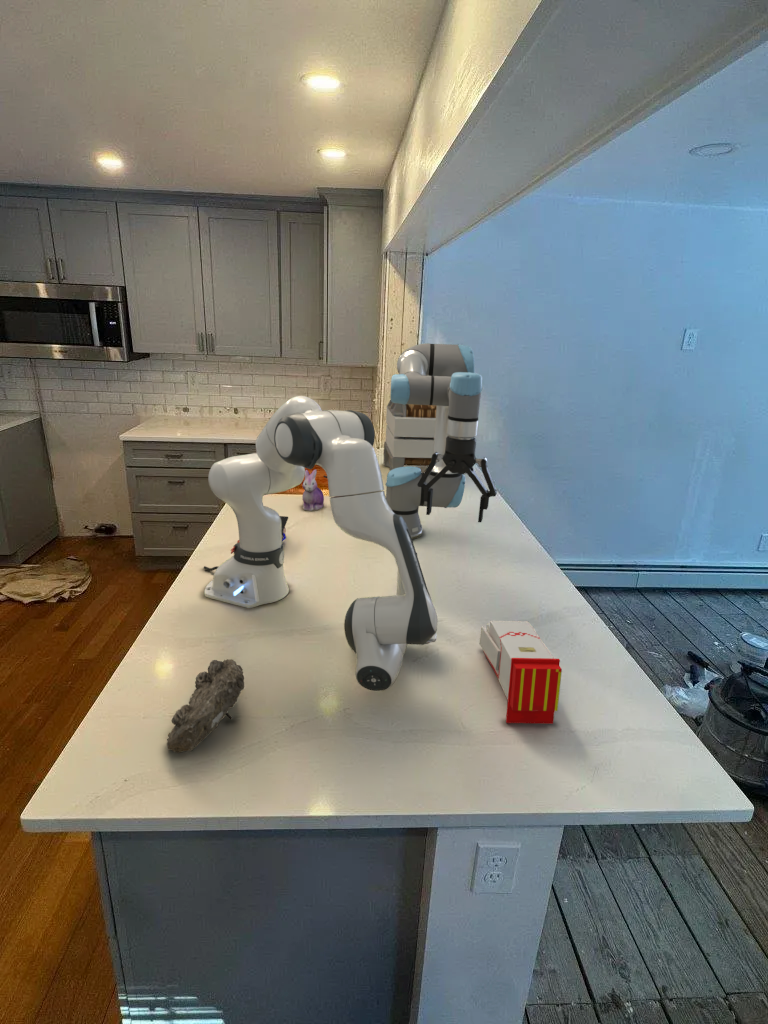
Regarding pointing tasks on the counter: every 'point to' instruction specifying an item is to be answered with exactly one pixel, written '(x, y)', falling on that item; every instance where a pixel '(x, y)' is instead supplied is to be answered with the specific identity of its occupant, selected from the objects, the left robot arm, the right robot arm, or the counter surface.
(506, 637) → the toy
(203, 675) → the fossil
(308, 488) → the figurine
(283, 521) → the figurine character
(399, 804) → the counter surface
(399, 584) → the jar
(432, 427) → the grey tall slatted box
